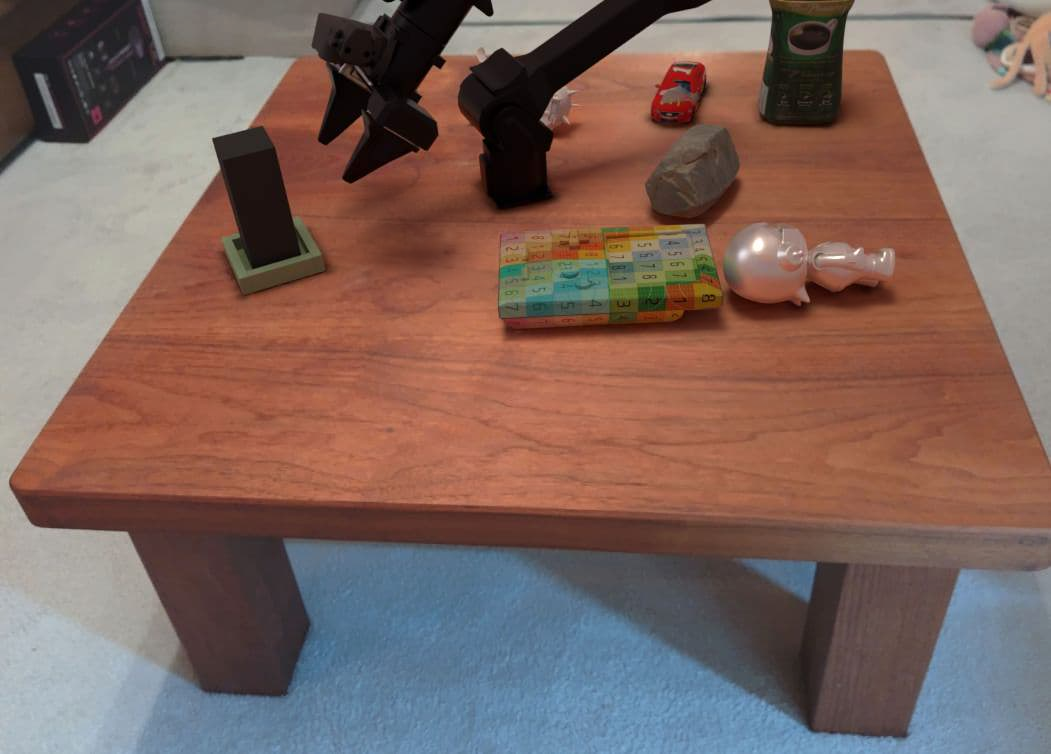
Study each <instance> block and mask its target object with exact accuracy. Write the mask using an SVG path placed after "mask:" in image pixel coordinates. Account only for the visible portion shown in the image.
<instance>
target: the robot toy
mask: <svg viewBox="0 0 1051 754" xmlns="http://www.w3.org/2000/svg"><path fill="white" fill-rule="evenodd" d="M475 56H476V58H477V60H478V61H479V64H480V63H482V62H484V61H485V60H486V59H487V58H488V57H487V55H486V50H485V48H484V46H478V47H476V50H475ZM581 91H582V90H580V89H577V90H570V88H569V87H568V86H567V85H565V86H564V87H563V88H561V89H560V90H558V91H557V92H556V93H555V94H554V95H553V97H552V99H551V101H550V103H549V105H548V107H547V108H546V110H545V112H544V114H543V116H542V118H541V119H540V120H541V121H542V122H543V123H544V124H545V125H546V126H547V127H549V128H550V129H551V130H552V131H553V129H555V127H556V126H557V127H559V126H560V125H561V124H562V123H565V124H567V125H570V126H571V122H570V121H569V119H568V118H567V117H568V116H569V113H570V112H571V108H576V107H584V105H582V104H576V103H573V99H572V96H573V95H575V94H577V93H578V92H581ZM573 112H575V110H573Z"/></svg>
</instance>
